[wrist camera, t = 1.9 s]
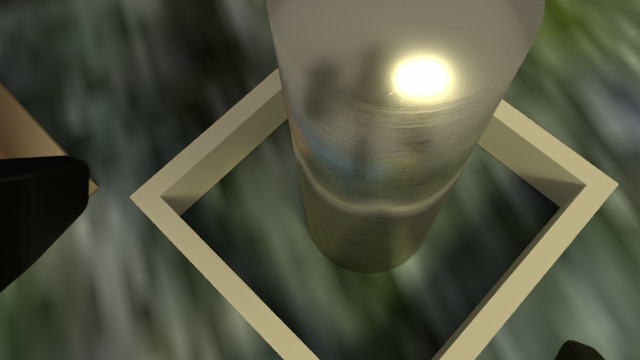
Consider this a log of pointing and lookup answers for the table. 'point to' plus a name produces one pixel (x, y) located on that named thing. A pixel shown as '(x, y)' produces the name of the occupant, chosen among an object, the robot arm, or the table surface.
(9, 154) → the tray
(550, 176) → the frame
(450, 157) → the disc
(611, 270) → the table surface
